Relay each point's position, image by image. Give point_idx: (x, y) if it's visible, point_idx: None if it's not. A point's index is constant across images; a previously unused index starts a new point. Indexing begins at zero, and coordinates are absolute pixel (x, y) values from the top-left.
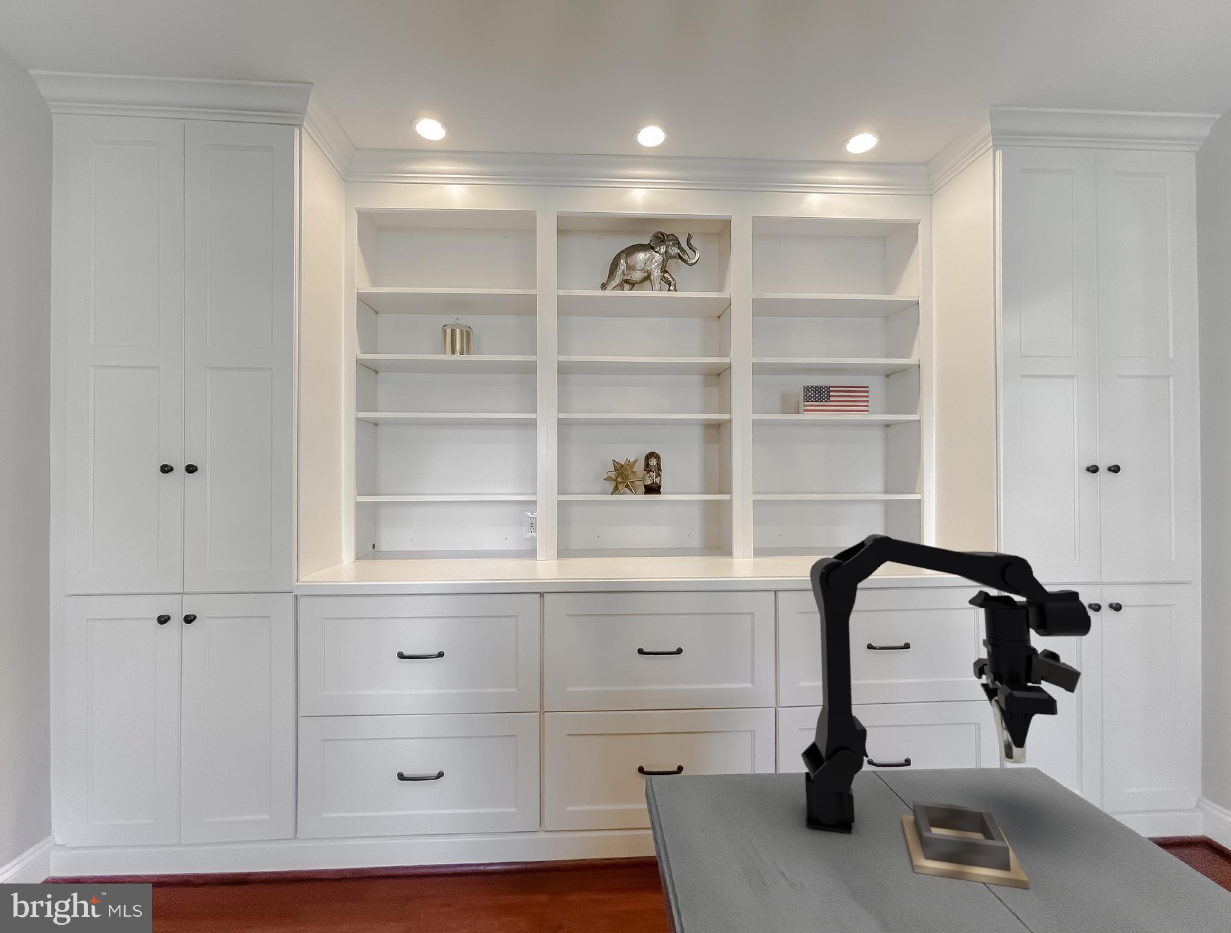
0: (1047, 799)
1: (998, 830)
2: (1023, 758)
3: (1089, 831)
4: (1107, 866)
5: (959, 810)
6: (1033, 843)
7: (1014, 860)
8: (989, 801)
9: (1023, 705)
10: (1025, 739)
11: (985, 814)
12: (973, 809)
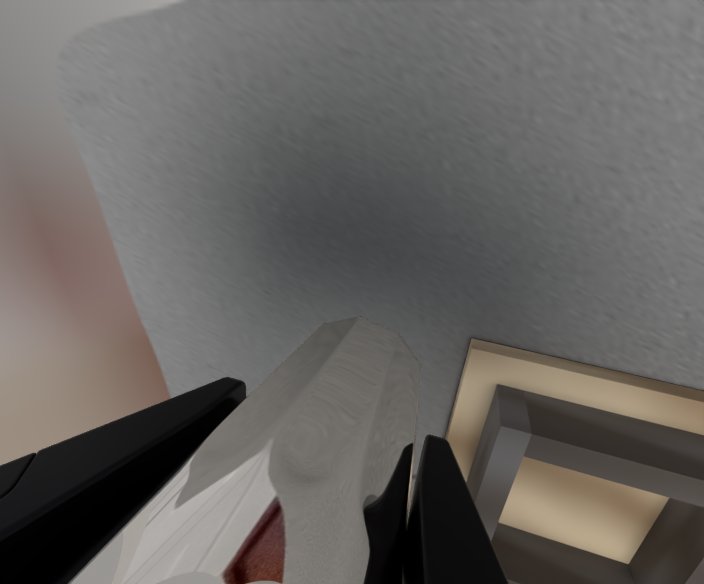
0: (234, 85)
1: (660, 473)
2: (406, 360)
3: (441, 37)
4: (692, 96)
5: (505, 499)
6: (526, 271)
7: (678, 404)
8: (286, 276)
9: None
10: (474, 502)
11: (540, 451)
12: (504, 467)
